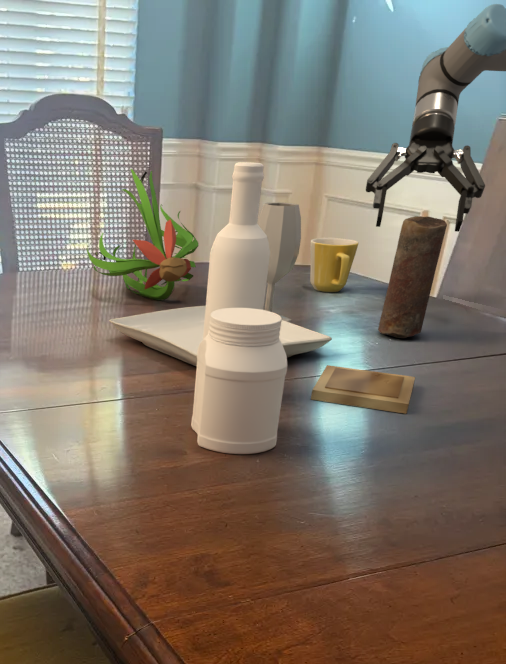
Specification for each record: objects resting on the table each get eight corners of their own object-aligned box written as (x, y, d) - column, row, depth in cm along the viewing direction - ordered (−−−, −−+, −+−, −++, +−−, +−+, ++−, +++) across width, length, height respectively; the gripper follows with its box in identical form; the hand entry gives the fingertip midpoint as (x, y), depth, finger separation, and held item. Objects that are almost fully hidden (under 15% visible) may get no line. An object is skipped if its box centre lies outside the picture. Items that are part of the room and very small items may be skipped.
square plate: (207, 382, 115) (209, 357, 113) (105, 339, 135) (106, 317, 133) (331, 356, 128) (335, 333, 126) (222, 320, 148) (224, 300, 146)
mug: (301, 284, 179) (308, 236, 174) (346, 286, 178) (354, 238, 173) (307, 297, 168) (315, 246, 162) (355, 299, 167) (364, 248, 161)
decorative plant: (136, 341, 154) (79, 303, 177) (244, 306, 160) (175, 273, 183) (117, 205, 138) (58, 182, 161) (238, 171, 144) (164, 154, 167)
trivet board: (413, 386, 116) (415, 375, 115) (406, 414, 105) (409, 402, 104) (325, 374, 120) (327, 363, 119) (310, 399, 109) (312, 388, 109)
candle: (425, 335, 141) (452, 218, 131) (414, 344, 136) (442, 222, 126) (383, 328, 145) (407, 214, 135) (371, 336, 140) (395, 218, 130)
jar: (188, 419, 102) (197, 303, 94) (260, 420, 102) (275, 304, 95) (201, 454, 92) (213, 328, 84) (280, 454, 92) (299, 329, 85)
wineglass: (234, 322, 147) (246, 203, 137) (262, 315, 152) (276, 200, 142) (270, 331, 142) (286, 208, 131) (299, 324, 147) (316, 205, 136)
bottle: (224, 408, 106) (249, 166, 91) (186, 392, 111) (204, 161, 96) (265, 397, 110) (295, 164, 95) (226, 382, 115) (249, 160, 100)
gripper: (499, 145, 144) (487, 242, 139) (361, 140, 150) (344, 233, 146) (511, 113, 137) (499, 214, 132) (366, 109, 143) (349, 205, 138)
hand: (418, 224), depth 139 cm, fingers open, 13 cm apart
